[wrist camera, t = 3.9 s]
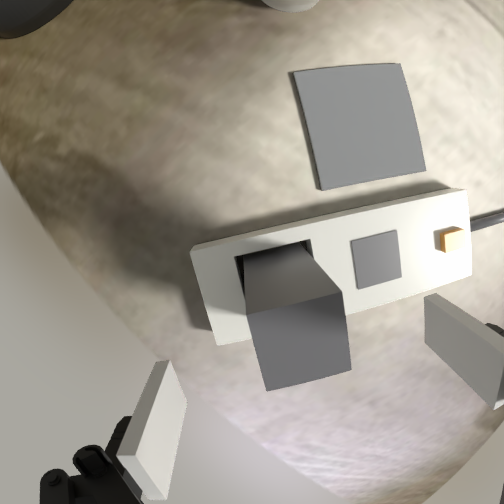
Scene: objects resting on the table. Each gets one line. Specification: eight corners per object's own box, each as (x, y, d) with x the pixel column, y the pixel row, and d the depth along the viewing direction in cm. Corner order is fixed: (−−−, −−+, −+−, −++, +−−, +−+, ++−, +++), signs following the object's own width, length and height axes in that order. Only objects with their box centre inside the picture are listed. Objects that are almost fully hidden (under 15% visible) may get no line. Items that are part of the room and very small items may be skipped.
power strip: (218, 332, 28) (216, 350, 25) (193, 245, 26) (187, 254, 23) (535, 238, 27) (553, 244, 24) (532, 172, 26) (551, 173, 23)
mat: (321, 190, 26) (322, 190, 25) (293, 73, 23) (293, 72, 23) (423, 170, 25) (426, 171, 25) (398, 64, 23) (400, 63, 23)
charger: (256, 306, 28) (266, 392, 16) (243, 254, 27) (245, 314, 15) (308, 294, 28) (351, 370, 16) (298, 242, 26) (342, 291, 15)
